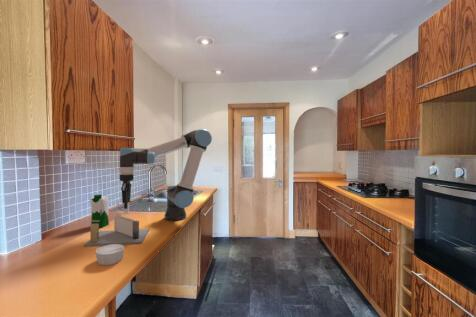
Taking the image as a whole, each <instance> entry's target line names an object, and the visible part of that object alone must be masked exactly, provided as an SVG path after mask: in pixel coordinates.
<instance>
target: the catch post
mask: <svg viewBox="0 0 476 317" xmlns="http://www.w3.org/2000/svg"><path fill="white" fill-rule="evenodd" d="M89 229H90V232H89V233H90V236H89V238H90V239H89V240H90V242H91V243H97V242H98V241H99V232H100V228H99V224H91V223H90V226H89Z"/></svg>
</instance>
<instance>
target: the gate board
mask: <svg viewBox="0 0 476 317" xmlns="http://www.w3.org/2000/svg"><path fill="white" fill-rule="evenodd" d="M149 232H150V228H139V238H138V239H133V237H131V236H128V235H125V234H123V233H120V232H117V231H114V230H113V229H111V230H99V241H98V242H97V243H91V242H90V239H89V240H88V241H86V242H85V243H84V244H83V247H102V246H106V245H110V244H121V245H123V246H124V245H140V244H143V242H144V240H145V239H146V237H147V235H148V233H149Z"/></svg>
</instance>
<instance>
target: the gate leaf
mask: <svg viewBox="0 0 476 317" xmlns="http://www.w3.org/2000/svg"><path fill="white" fill-rule="evenodd" d="M113 221H114V222H113V223H114V224H113V225H114V226H113V227H114V231H117V232H120V233H123V234H125V235H128V236H131V237H133V221H135V220H134V219H132V218H129V217H125V216H122V215H119V214H117V215H114V217H113Z"/></svg>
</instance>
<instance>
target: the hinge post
mask: <svg viewBox="0 0 476 317" xmlns="http://www.w3.org/2000/svg"><path fill="white" fill-rule="evenodd" d="M139 229H140V220H134V221H133V239H138V238H139Z"/></svg>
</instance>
